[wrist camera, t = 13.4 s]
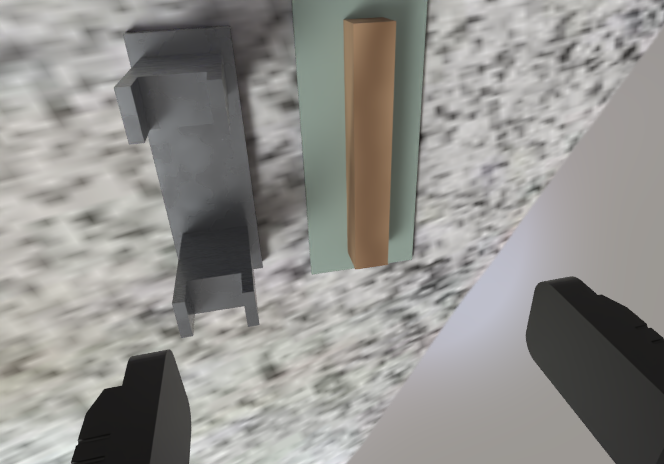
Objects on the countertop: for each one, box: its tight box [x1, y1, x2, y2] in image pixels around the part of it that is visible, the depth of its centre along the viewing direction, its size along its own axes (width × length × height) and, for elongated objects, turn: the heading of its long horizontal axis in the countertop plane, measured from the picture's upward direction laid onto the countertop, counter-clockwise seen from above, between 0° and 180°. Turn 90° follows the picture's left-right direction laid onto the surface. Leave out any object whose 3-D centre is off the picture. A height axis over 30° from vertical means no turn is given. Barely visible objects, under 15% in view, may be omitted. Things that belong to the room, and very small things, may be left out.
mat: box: [292, 0, 427, 275], centre depth 39 cm, size 10×24×1 cm, turn 2°
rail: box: [343, 17, 396, 269], centre depth 37 cm, size 3×20×3 cm, turn 2°
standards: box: [114, 26, 263, 338], centre depth 33 cm, size 7×20×10 cm, turn 2°
